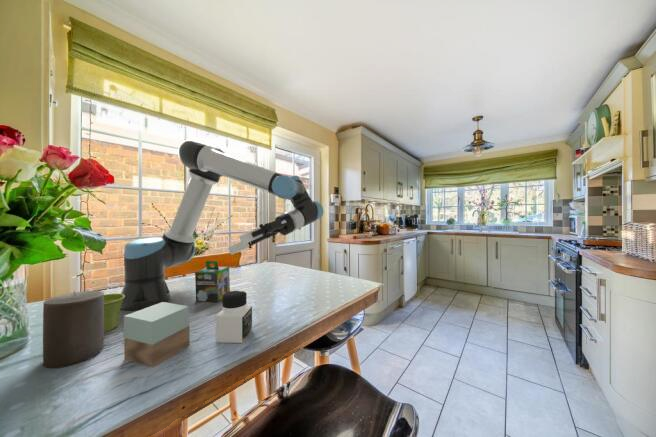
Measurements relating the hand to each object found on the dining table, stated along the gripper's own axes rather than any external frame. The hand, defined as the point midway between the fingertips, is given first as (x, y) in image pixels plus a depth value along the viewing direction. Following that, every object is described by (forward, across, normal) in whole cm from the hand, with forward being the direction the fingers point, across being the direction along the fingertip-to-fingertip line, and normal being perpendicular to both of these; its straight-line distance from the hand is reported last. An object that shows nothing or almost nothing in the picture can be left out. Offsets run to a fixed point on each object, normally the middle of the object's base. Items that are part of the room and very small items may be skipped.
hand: (235, 246), depth 73 cm
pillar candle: (+40, +10, -7) cm, 42 cm away
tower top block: (+25, 0, -11) cm, 28 cm away
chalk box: (+6, +31, -12) cm, 34 cm away
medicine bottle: (+12, -2, -23) cm, 26 cm away
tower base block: (+27, +1, -16) cm, 31 cm away
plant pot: (+36, +23, -4) cm, 42 cm away
